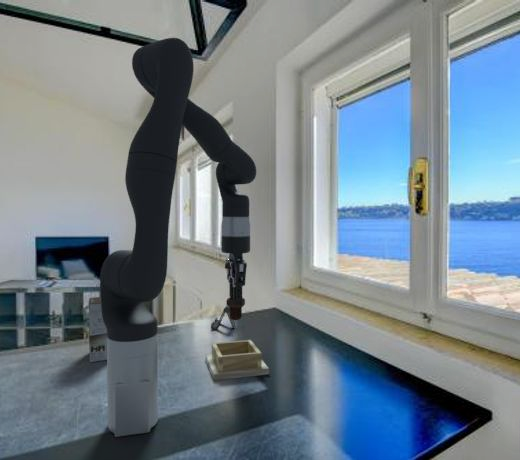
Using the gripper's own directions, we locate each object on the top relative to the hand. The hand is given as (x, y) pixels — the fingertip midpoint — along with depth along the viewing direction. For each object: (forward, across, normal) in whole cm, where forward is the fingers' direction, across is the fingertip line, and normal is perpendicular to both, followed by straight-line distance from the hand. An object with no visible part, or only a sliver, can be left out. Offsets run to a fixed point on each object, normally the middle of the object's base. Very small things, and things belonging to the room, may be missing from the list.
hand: (235, 299), depth 103 cm
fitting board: (+18, 0, 0) cm, 18 cm away
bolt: (+5, 0, 0) cm, 5 cm away
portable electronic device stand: (+18, +37, -4) cm, 42 cm away
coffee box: (+18, +18, +35) cm, 43 cm away
